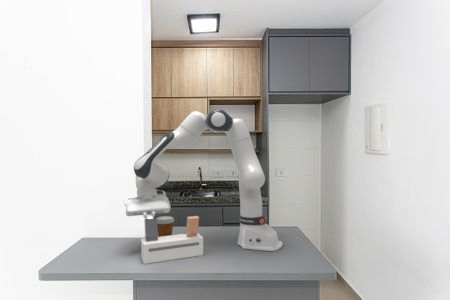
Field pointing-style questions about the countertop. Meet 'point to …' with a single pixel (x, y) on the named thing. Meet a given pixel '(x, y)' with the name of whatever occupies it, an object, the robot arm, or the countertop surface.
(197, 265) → the countertop surface
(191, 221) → the rocker terracotta
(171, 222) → the disposable coffee cup
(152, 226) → the rocker charcoal
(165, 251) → the switch box
